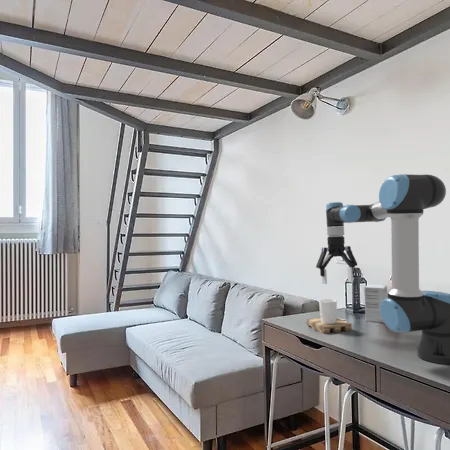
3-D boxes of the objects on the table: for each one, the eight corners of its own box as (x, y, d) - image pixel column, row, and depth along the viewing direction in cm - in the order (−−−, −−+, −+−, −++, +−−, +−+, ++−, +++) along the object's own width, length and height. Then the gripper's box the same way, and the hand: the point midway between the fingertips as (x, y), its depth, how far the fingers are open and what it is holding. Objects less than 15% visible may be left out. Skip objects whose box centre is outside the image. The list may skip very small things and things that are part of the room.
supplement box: (369, 317, 208) (368, 284, 208) (388, 318, 204) (387, 284, 204) (365, 321, 200) (363, 286, 200) (384, 323, 195) (383, 287, 195)
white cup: (335, 320, 191) (335, 299, 191) (338, 324, 184) (338, 302, 184) (318, 320, 192) (318, 299, 192) (321, 324, 184) (320, 302, 184)
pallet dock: (351, 330, 184) (351, 323, 184) (323, 333, 181) (323, 326, 181) (332, 322, 200) (332, 316, 200) (307, 325, 196) (306, 319, 196)
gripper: (354, 235, 195) (356, 279, 194) (307, 237, 187) (309, 283, 187) (364, 235, 188) (365, 281, 187) (315, 237, 180) (317, 285, 180)
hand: (337, 282), depth 187 cm, fingers open, 13 cm apart
